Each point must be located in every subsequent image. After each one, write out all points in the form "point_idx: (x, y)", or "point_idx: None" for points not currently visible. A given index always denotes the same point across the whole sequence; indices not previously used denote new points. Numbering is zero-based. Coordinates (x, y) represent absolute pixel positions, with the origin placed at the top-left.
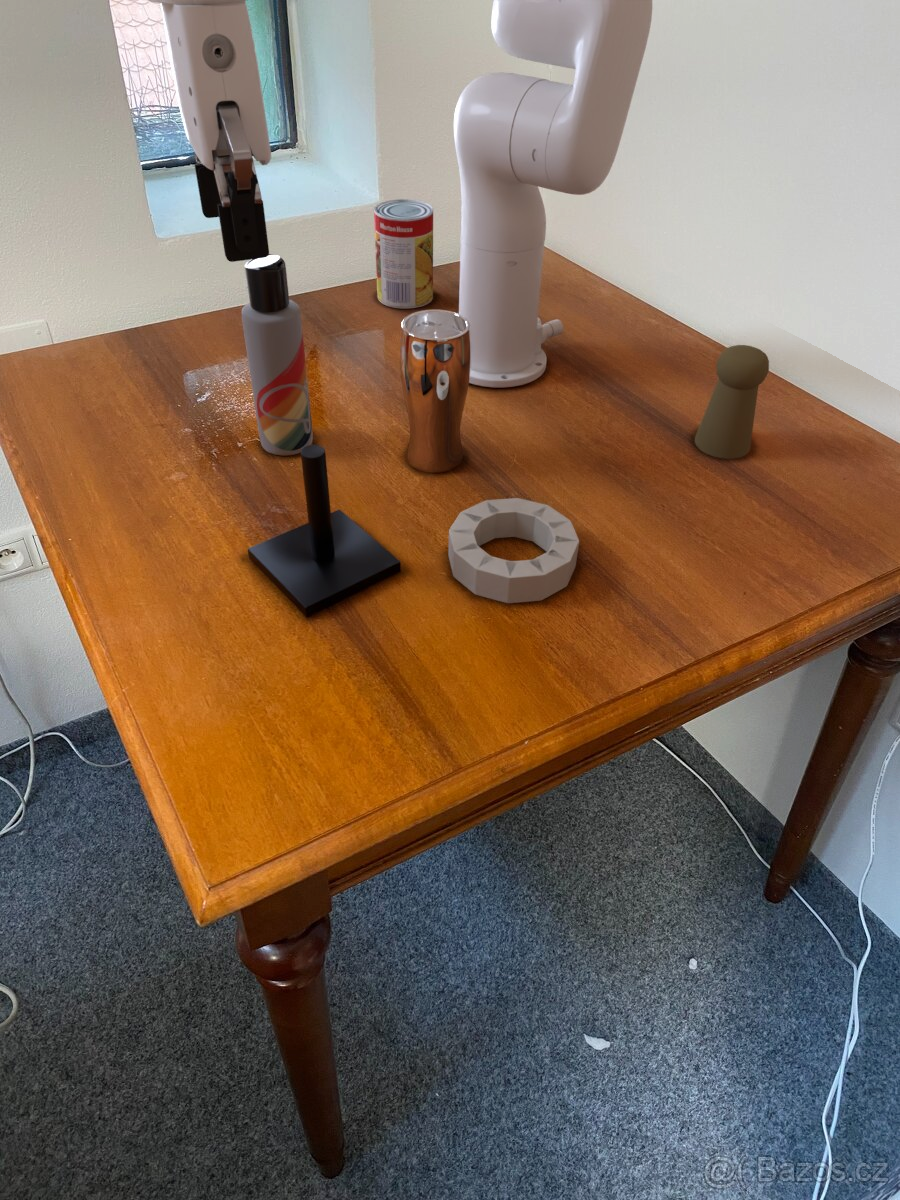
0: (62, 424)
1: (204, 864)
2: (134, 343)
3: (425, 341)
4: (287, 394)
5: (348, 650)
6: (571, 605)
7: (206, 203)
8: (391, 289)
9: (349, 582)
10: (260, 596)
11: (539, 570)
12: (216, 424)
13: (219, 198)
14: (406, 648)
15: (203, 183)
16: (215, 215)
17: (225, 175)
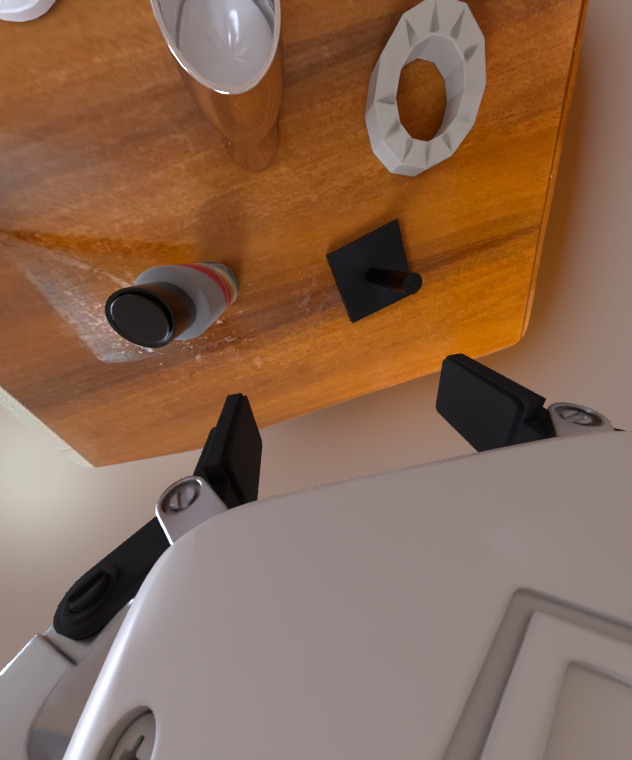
0: (192, 427)
1: (510, 343)
2: (54, 400)
3: (274, 59)
4: (227, 287)
5: (442, 271)
6: None
7: (259, 456)
8: None
9: (404, 262)
10: (383, 316)
11: (480, 85)
12: None
13: (252, 443)
14: (456, 234)
15: (255, 486)
16: (258, 431)
17: (241, 462)
